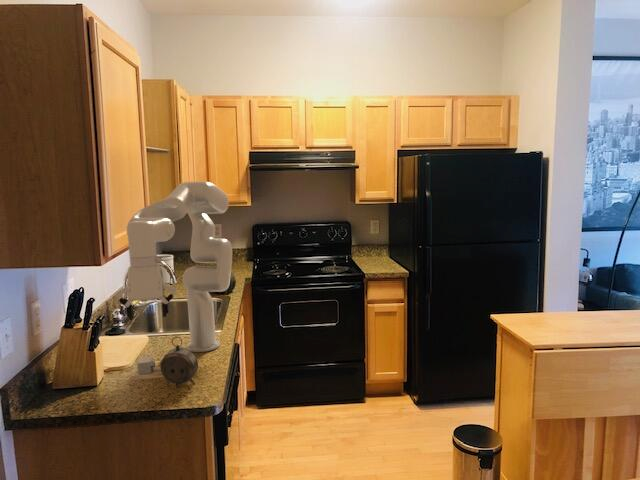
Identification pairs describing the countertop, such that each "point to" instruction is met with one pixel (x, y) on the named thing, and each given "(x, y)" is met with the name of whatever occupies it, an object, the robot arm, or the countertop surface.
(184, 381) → the alarm clock
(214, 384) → the countertop surface
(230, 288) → the squash
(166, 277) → the utensil holder
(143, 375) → the track
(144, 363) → the block
